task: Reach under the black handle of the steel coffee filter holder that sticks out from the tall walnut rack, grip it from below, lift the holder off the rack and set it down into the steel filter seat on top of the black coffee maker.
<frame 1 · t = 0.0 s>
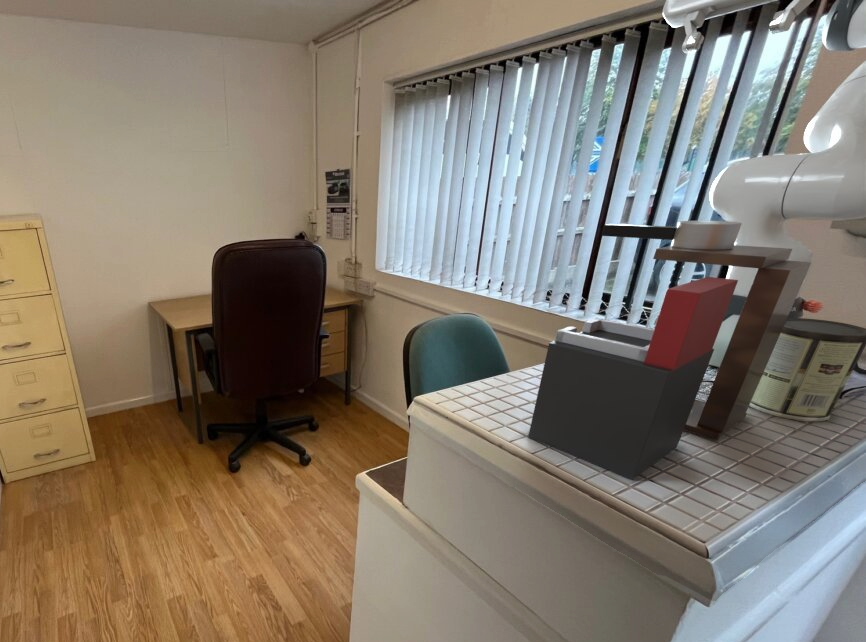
hand: (730, 41, 61), 52 cm above the worktop, tool tilted 20°, fingers open, 8 cm apart
coffee can: (782, 408, 76), on the worktop
filter holder: (700, 247, 68), point 26 cm above the worktop, touching rack
food container: (674, 372, 92), on the worktop
rack: (676, 412, 76), on the worktop
coffee maker: (600, 442, 68), on the worktop
muffin: (628, 365, 96), on the worktop
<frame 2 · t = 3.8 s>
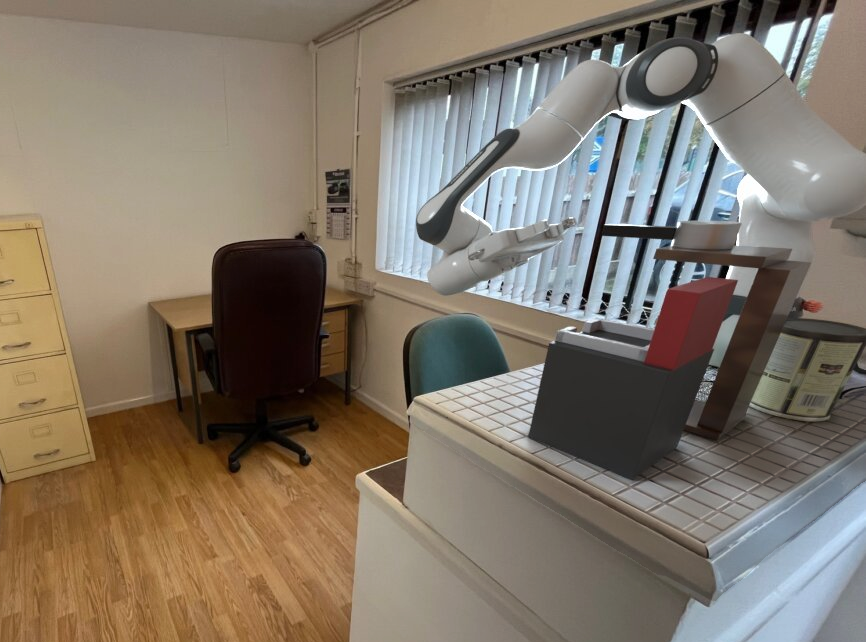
hand: (560, 222, 83), 29 cm above the worktop, tool pointing upward, fingers open, 8 cm apart
nothing on the worktop moved.
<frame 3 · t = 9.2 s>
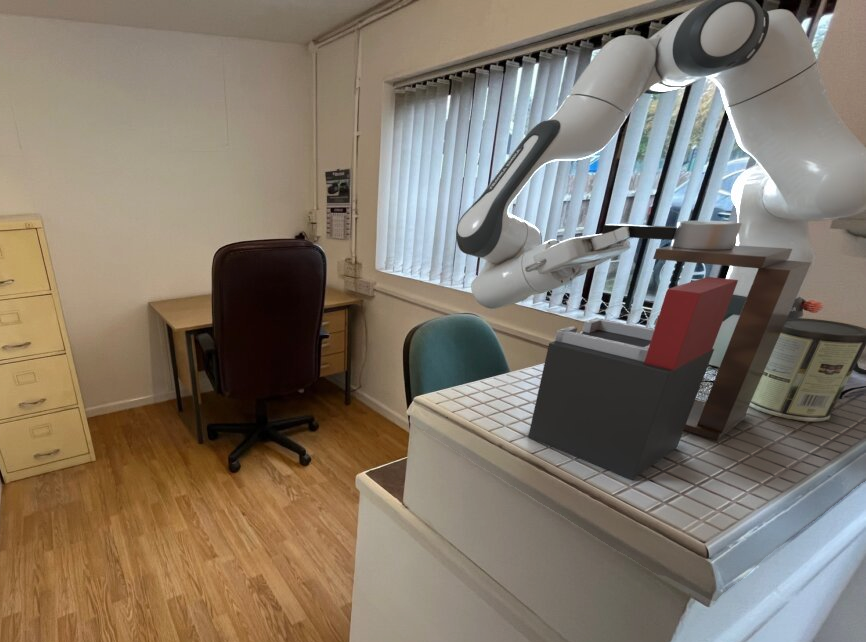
hand: (634, 229, 74), 28 cm above the worktop, tool pointing upward, fingers closed on filter holder, 2 cm apart
filter holder: (700, 247, 68), point 26 cm above the worktop, touching gripper, rack
everything else where it was.
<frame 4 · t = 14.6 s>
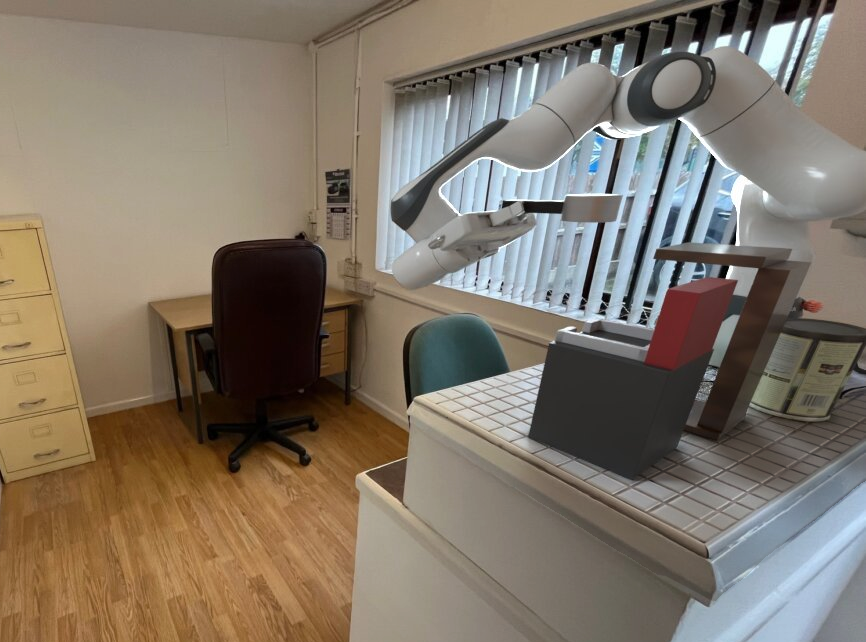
hand: (529, 205, 74), 32 cm above the worktop, tool pointing upward, fingers closed on filter holder
filter holder: (587, 220, 67), point 30 cm above the worktop, touching gripper
everything else where it was.
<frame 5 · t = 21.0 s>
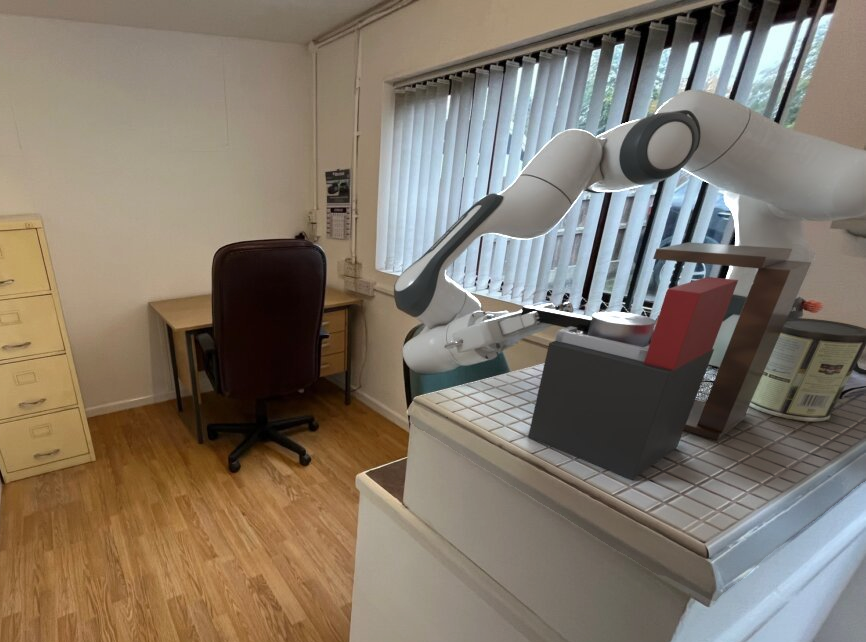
hand: (553, 311, 69), 18 cm above the worktop, tool pointing upward, fingers open, 8 cm apart
filter holder: (616, 342, 63), point 15 cm above the worktop, touching coffee maker
everything else where it was.
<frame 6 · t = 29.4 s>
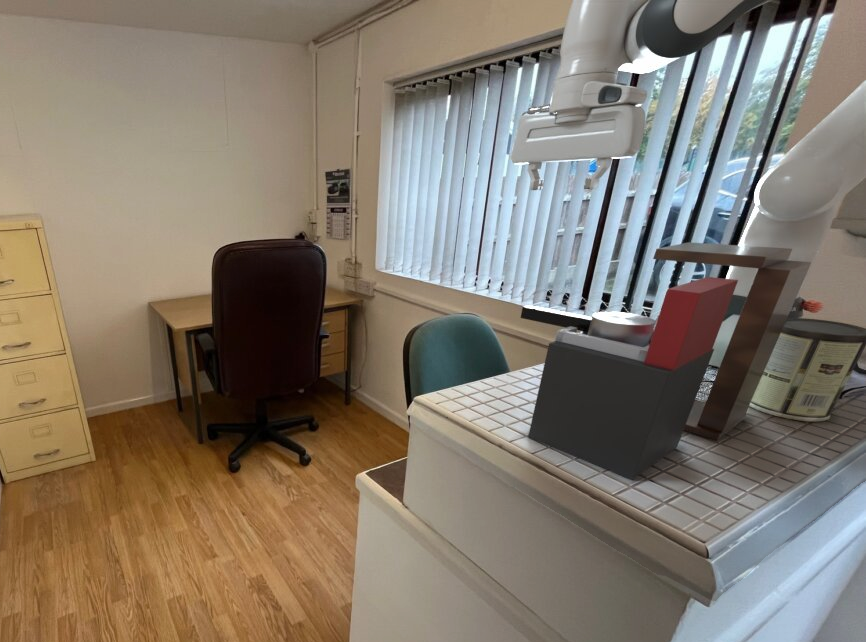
hand: (562, 189, 82), 34 cm above the worktop, tool pointing down, fingers open, 8 cm apart
nothing on the worktop moved.
at the end: filter holder 0.1 cm from the target spot on the coffee maker, point 15.0 cm above the coffee maker's base; filter holder tilted 0°; the gripper is holding nothing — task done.
